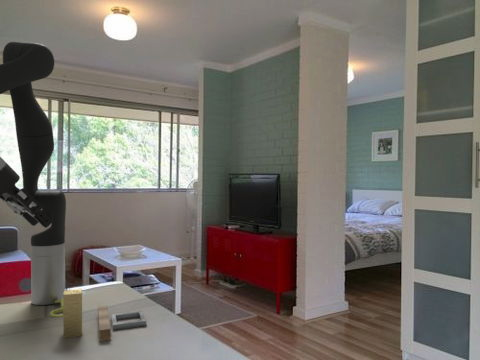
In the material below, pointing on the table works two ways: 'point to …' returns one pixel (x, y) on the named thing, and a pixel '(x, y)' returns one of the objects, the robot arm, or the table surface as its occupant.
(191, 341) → the table surface
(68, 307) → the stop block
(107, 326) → the brown square bar
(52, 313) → the key
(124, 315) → the keeper
